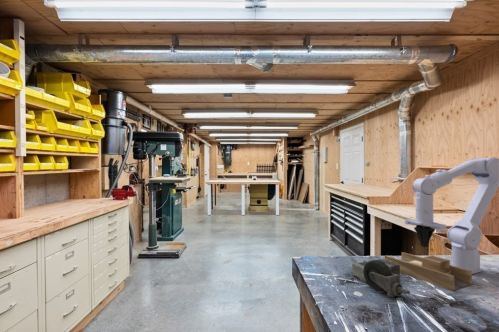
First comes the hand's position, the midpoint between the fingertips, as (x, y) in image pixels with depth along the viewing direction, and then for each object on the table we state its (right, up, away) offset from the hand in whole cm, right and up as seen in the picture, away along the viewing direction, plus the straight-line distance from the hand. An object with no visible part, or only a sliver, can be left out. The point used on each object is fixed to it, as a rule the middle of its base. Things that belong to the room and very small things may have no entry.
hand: (424, 246), depth 111 cm
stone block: (-21, -10, -5) cm, 24 cm away
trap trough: (-2, -9, -4) cm, 11 cm away
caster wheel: (-23, -10, -18) cm, 31 cm away
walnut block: (-1, -6, -8) cm, 10 cm away
